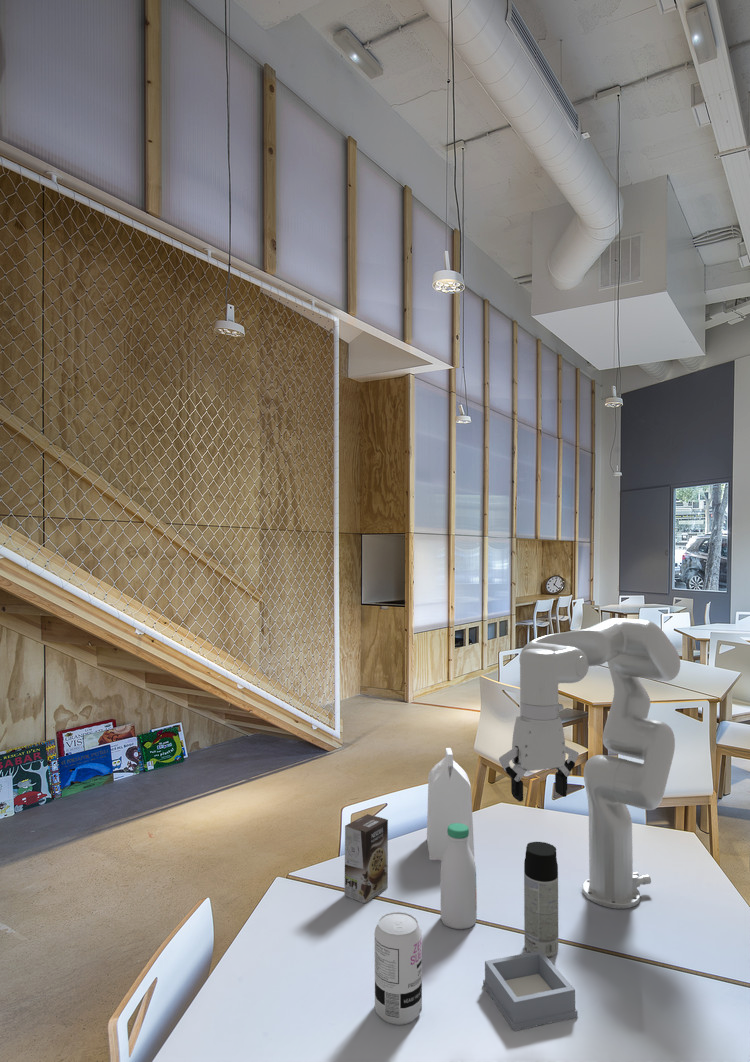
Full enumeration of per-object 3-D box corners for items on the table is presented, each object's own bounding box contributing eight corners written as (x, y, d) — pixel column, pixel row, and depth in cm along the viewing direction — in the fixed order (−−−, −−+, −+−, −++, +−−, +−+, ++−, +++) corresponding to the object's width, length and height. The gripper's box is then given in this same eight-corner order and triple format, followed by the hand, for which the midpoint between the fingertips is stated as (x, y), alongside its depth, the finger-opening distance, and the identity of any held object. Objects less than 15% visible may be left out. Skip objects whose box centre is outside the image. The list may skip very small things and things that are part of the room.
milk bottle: (475, 932, 139) (475, 835, 139) (438, 928, 140) (438, 832, 141) (477, 912, 146) (477, 820, 147) (442, 908, 148) (442, 818, 148)
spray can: (559, 942, 135) (558, 843, 136) (557, 962, 129) (556, 857, 129) (526, 936, 137) (525, 838, 138) (522, 955, 131) (521, 852, 131)
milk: (474, 860, 171) (473, 758, 171) (429, 859, 171) (429, 758, 172) (468, 839, 183) (467, 744, 183) (426, 839, 183) (426, 744, 184)
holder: (541, 973, 125) (541, 949, 125) (577, 1017, 114) (577, 990, 114) (483, 985, 122) (483, 960, 122) (514, 1031, 110) (513, 1003, 110)
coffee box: (365, 904, 150) (365, 832, 150) (343, 895, 153) (343, 825, 154) (389, 888, 157) (389, 819, 157) (367, 879, 161) (367, 812, 161)
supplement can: (372, 996, 119) (372, 911, 119) (418, 993, 120) (418, 909, 120) (376, 1028, 111) (376, 937, 111) (425, 1025, 112) (425, 935, 112)
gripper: (566, 704, 140) (567, 786, 139) (491, 709, 135) (492, 794, 135) (587, 712, 133) (587, 799, 132) (509, 718, 128) (509, 808, 128)
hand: (539, 796), depth 134 cm, fingers open, 9 cm apart
